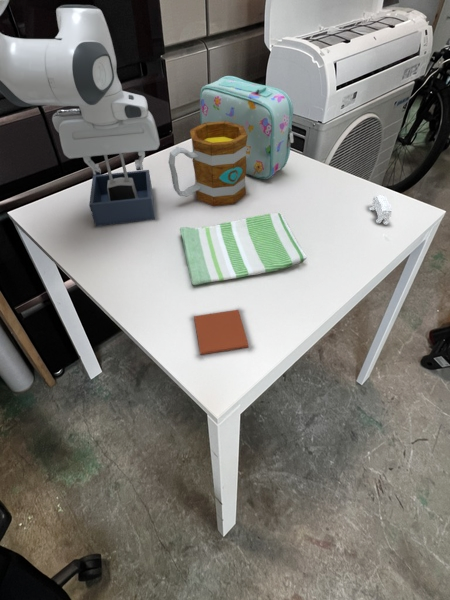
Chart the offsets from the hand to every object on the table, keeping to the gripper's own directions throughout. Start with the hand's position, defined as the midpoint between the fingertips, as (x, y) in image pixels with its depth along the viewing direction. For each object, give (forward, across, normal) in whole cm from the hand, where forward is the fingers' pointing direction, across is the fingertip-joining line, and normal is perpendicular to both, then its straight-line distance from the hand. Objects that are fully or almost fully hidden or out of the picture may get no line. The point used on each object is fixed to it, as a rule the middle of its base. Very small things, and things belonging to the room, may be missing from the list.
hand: (118, 171), depth 84 cm
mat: (+10, +16, -43) cm, 47 cm away
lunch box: (+10, +33, +15) cm, 37 cm away
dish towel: (+10, +24, -22) cm, 34 cm away
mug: (+10, +21, +1) cm, 23 cm away
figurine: (+10, +58, -16) cm, 60 cm away
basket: (+9, 0, 0) cm, 9 cm away
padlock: (+9, 0, 0) cm, 9 cm away
